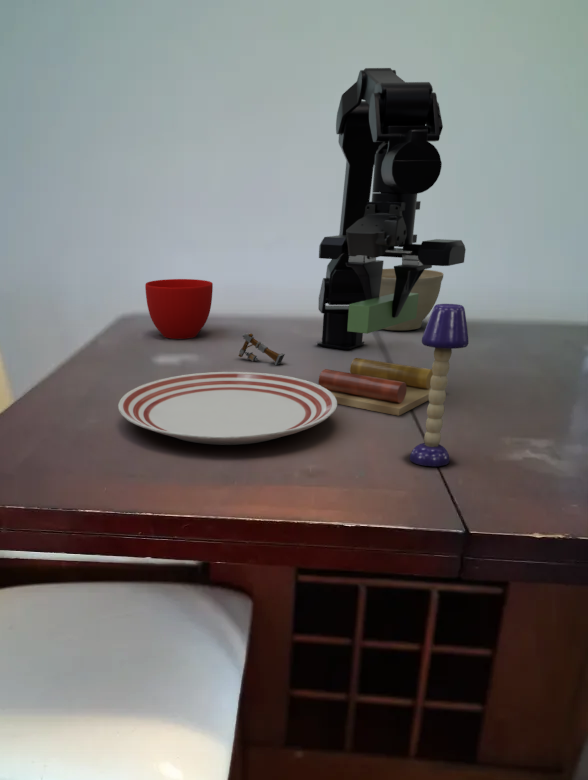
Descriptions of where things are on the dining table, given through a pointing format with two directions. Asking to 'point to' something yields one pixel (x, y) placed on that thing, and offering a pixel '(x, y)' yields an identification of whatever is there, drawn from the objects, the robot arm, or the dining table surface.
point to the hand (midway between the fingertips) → (383, 316)
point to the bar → (379, 313)
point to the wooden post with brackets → (261, 347)
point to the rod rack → (379, 386)
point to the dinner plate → (228, 407)
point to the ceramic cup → (179, 306)
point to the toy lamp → (440, 377)
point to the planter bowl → (424, 287)
